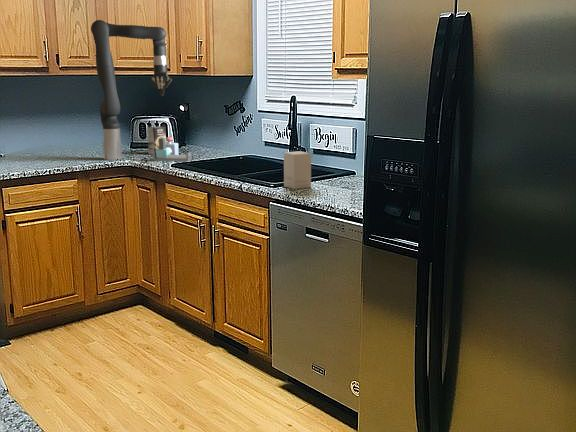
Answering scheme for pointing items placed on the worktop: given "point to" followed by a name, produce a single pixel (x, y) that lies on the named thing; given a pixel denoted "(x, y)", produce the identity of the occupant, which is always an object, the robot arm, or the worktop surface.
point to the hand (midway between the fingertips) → (161, 95)
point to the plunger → (169, 140)
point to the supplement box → (297, 169)
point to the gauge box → (172, 148)
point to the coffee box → (155, 138)
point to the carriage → (162, 149)
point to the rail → (188, 157)
